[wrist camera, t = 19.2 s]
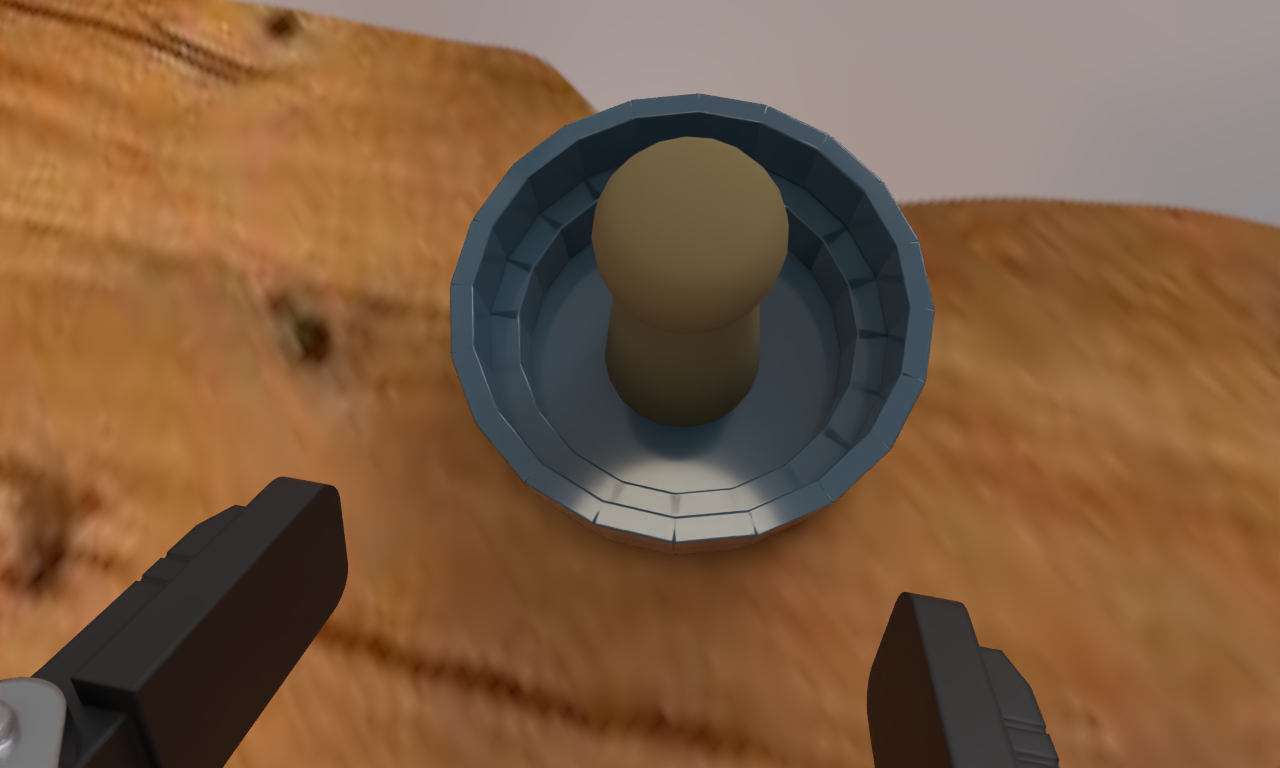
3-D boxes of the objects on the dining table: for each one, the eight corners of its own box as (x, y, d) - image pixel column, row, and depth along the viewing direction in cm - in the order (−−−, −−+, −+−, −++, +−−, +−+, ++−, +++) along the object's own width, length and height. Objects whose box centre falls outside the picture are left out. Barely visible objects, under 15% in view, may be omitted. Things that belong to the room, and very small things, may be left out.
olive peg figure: (789, 329, 28) (861, 167, 18) (707, 457, 27) (733, 364, 16) (659, 254, 29) (655, 60, 19) (574, 374, 28) (519, 236, 17)
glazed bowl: (775, 131, 32) (796, 36, 26) (957, 453, 27) (1027, 417, 22) (438, 261, 30) (390, 190, 25) (573, 623, 26) (549, 628, 21)
